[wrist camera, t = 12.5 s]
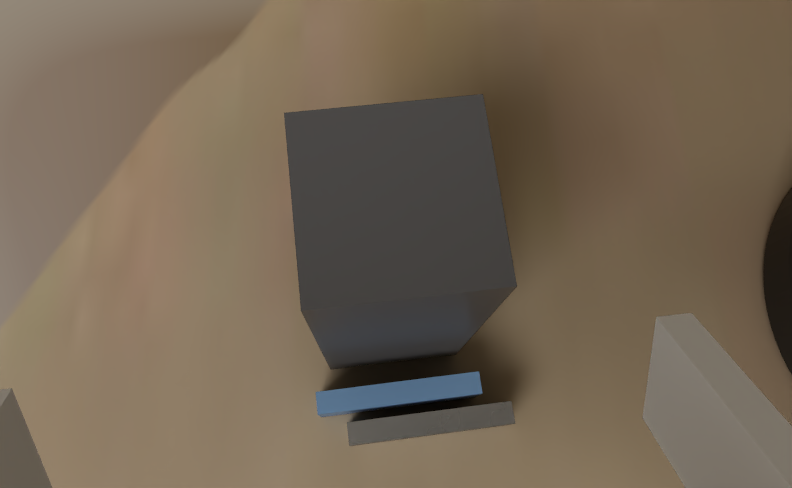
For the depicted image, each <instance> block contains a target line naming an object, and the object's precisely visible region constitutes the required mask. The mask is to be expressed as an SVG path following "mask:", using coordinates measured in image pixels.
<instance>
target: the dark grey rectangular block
mask: <svg viewBox="0 0 792 488" xmlns="http://www.w3.org/2000/svg"><path fill="white" fill-rule="evenodd" d="M284 117H285V129H286V140H287V152H288V164H289V175H290V187H291V199H292V210H293V222H294V233H295V245H296V257H297V268H298V280H299V291H300V303H301V312H302V314H303V316H304V318H305V320H306V322H307V324H308V326H309V328H310V330H311V331H312V333H313V335H314V337H315V339H316V341H317V343H318V345H319V347H320V349H321V351H322V353H323V355H324V357H325V359H326V361H327V363H328V365H329V367H330V369H339V368H347V367H355V366H364V365H372V364H380V363H389V362H397V361H405V360H414V359H422V358H430V357H438V356H447V355H455V354H457V352H458V351H459V350H460V349H461V348H462V347H463V346H464V345H465V344H466V342H467V341H468V340H469V339H470V338H471V337H472V336H473V335H474V334H475V332H476V331H477V330H478V329H479V328H480V327H481V326H482V325H483V324H484V322H485V321H486V320H487V319H488V318H489V317H490V316H491V315H492V313H493V312H494V311H495V310H496V309H497V308H498V307H499V306H500V305H501V303H502V302H503V301H504V300H505V299H506V298H507V297H508V296H509V295H510V293H511V292H512V291H513V290H514V289H515V288H516V287H517V284H516V278H515V273H514V267H513V261H512V256H511V250H510V244H509V239H508V233H507V227H506V222H505V216H504V210H503V205H502V199H501V194H500V188H499V182H498V177H497V171H496V165H495V160H494V154H493V148H492V143H491V137H490V131H489V126H488V120H487V114H486V109H485V103H484V98H483V94H479V95H469V96H458V97H447V98H437V99H426V100H416V101H405V102H394V103H384V104H373V105H363V106H352V107H341V108H331V109H320V110H310V111H299V112H289V113H284Z"/></svg>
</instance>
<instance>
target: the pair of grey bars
mask: <svg viewBox="0 0 792 488" xmlns="http://www.w3.org/2000/svg"><path fill="white" fill-rule="evenodd" d="M510 424H515V419H514V413H513V408H512V402H511V401H507V402H499V403H492V404H484V405H477V406H469V407H461V408H454V409H446V410H438V411H431V412H423V413H415V414H408V415H400V416H393V417H385V418H377V419H370V420H362V421H354V422H347V428H348V438H349V446H354V445H361V444H369V443H376V442H384V441H391V440H399V439H406V438H414V437H421V436H429V435H436V434H444V433H451V432H459V431H466V430H474V429H481V428H489V427H496V426H504V425H510Z"/></svg>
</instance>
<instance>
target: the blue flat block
mask: <svg viewBox="0 0 792 488" xmlns="http://www.w3.org/2000/svg"><path fill="white" fill-rule="evenodd" d="M480 394H482V387H481V381H480V374H479V371H477V372H469V373H461V374H454V375H446V376H438V377H430V378H422V379H414V380H406V381H399V382H391V383H383V384H375V385H367V386H359V387H352V388H344V389H336V390H328V391H320V392H316V400H317V411H318V415H319V416H321V417H327V416H335V415H342V414H350V413H358V412H365V411H373V410H381V409H388V408H396V407H404V406H411V405H419V404H427V403H434V402H442V401H450V400H458V399H465V398H473V397H476V396H478V395H480Z"/></svg>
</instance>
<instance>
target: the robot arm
mask: <svg viewBox="0 0 792 488" xmlns="http://www.w3.org/2000/svg"><path fill="white" fill-rule="evenodd" d="M764 292H765V300H766V306H767V312H768V316H769V320H770V324H771V328H772V331H773V334H774V337H775V340H776V342H777V345H778V347H779V350H780V352H781V355H782V357H783V359H784V361H785V363H786V365H787V367H788V369H789V371H790V372H791V374H792V188H791V190H790V191H789V192H788V194H787V195H786V197H785V198H784V200H783V202H782V203H781V205H780V207H779V209H778V211H777V213H776V216H775V218H774V220H773V223H772V226H771V229H770V232H769V236H768V240H767V244H766V250H765V258H764ZM643 419H644V421H645V423H646V424H647V426H648V428H649V429H650V431H651V433H652V434H653V436H654V437H655V439H656V441H657V442H658V444H659V446H660V447H661V449H662V450H663V452H664V454H665V455H666V457H667V459H668V460H669V462H670V463H671V465H672V467H673V468H674V470H675V472H676V473H677V475H678V476H679V478H680V480H681V481H682V483H683V485H684V486H685V488H792V426H791V425H790V424H789V423H788V422H787V420H786V419H785V418H784V417H783V416H782V415H781V414H780V412H779V411H778V410H777V409H776V408H775V407H774V406H773V405H772V403H771V402H770V401H769V400H768V399H767V398H766V397H765V395H764V394H763V393H762V392H761V391H760V390H759V389H758V388H757V386H756V385H755V384H754V383H753V382H752V381H751V380H750V378H749V377H748V376H747V375H746V374H745V373H744V372H743V371H742V369H741V368H740V367H739V366H738V365H737V364H736V363H735V361H734V360H733V359H732V358H731V357H730V356H729V355H728V354H727V352H726V351H725V350H724V349H723V348H722V347H721V346H720V344H719V343H718V342H717V341H716V340H715V339H714V338H713V337H712V335H711V334H710V333H709V332H708V331H707V330H706V329H705V327H704V326H703V325H702V324H701V323H700V322H699V321H698V320H697V318H696V317H695V316H694V315H693V314H692V313H686V314H677V315H668V316H659V317H656V323H655V330H654V337H653V345H652V352H651V359H650V367H649V374H648V381H647V389H646V396H645V403H644V411H643ZM0 488H52V486H51V483H50V481H49V478H48V476H47V474H46V471H45V469H44V466H43V464H42V461H41V459H40V456H39V454H38V451H37V449H36V447H35V444H34V442H33V439H32V437H31V434H30V432H29V429H28V427H27V424H26V422H25V419H24V417H23V415H22V412H21V410H20V407H19V405H18V402H17V400H16V397H15V395H14V392H13V390H12V388H11V389H2V390H0Z"/></svg>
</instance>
